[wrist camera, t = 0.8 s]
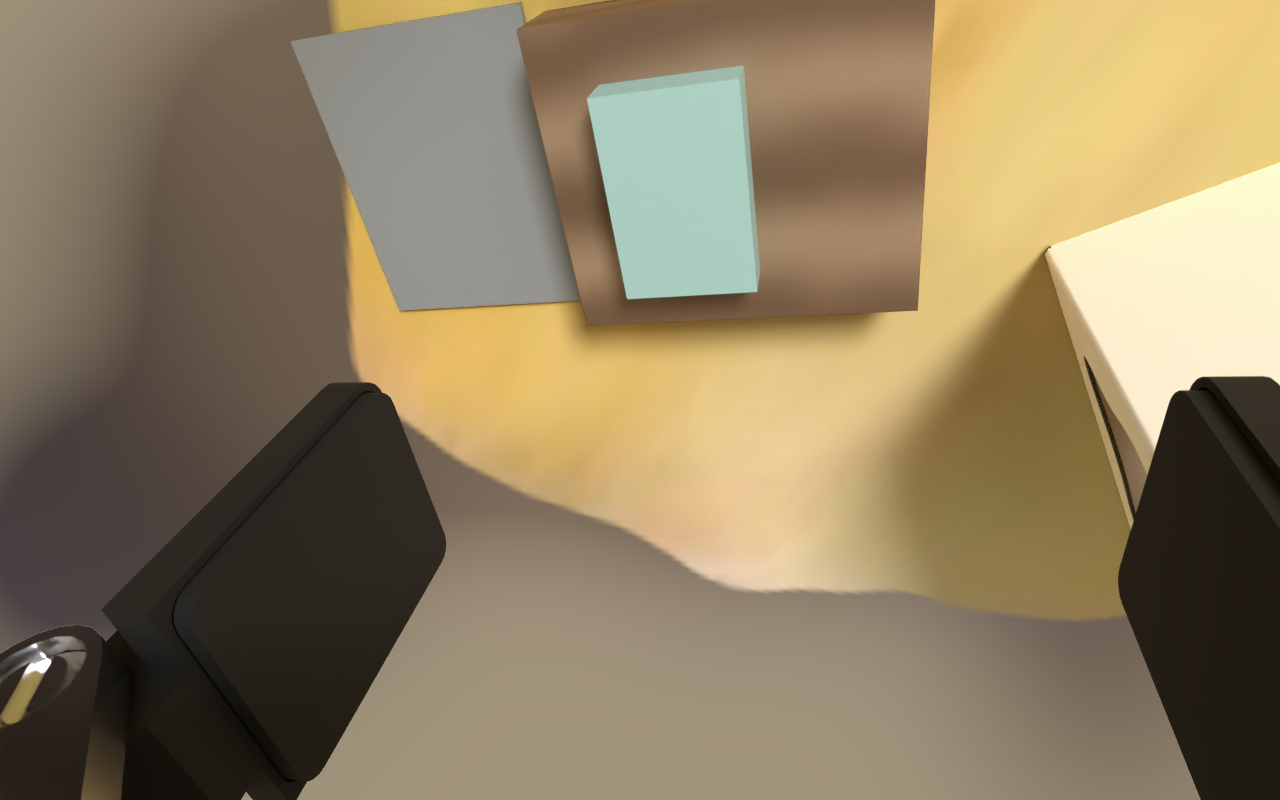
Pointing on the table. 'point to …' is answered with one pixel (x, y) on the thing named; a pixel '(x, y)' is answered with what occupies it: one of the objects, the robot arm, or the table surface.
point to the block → (679, 182)
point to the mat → (445, 158)
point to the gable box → (1171, 309)
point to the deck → (758, 143)
